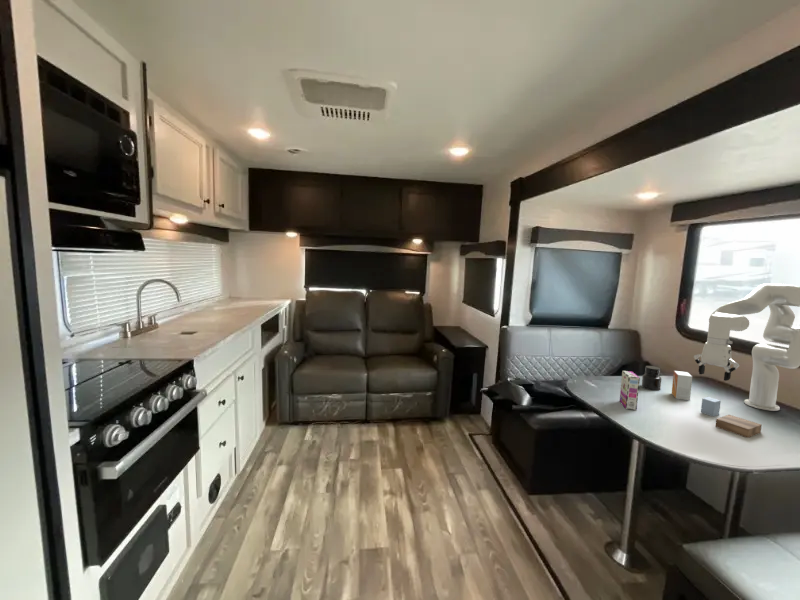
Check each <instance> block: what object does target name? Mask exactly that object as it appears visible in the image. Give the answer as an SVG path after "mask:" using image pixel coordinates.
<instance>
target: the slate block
mask: <svg viewBox="0 0 800 600" xmlns="http://www.w3.org/2000/svg"><path fill="white" fill-rule="evenodd" d="M721 402H722V401H721V399H720V400H719V399H717V398H713V397H710V396H705V397H703V398H702V400H701V407H700V413H701V414H704V415H707V416H711V417H716V416H719V415H720V410H721Z"/></svg>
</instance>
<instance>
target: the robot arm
mask: <svg viewBox="0 0 800 600" xmlns="http://www.w3.org/2000/svg"><path fill="white" fill-rule="evenodd" d="M767 307H768V308H769V311H770V312H769V313H770V314H769V317H768V319H767V322H766V326H765V327H764V330H763V335H762V337H763V339H764V340H765V341H767V342H770V344H769V343H757V344H755V345H754V346H753V347H752V350H751V356H752V372H751V380H750V386H749V387H750V388H749V394H748V395H749V398H747V399H744V401H743V402H744V403H745V405H747V406H749V407H752V408H756V409H758V410H759V409H760V410H764V411H769V412H770V411H771V412H777V411H780V410H781V409H780V406H779V405H778V404H777V396H778V388H779V381H780V372H779V369H778V368H777V366H778V367H781V368H786V369H790V370H791V369H798V368H799V367H800V326H797V325H794V322H795V318H796V315H795V313H794V311H793V309H791V307H796V308H797V307H800V286H797V285H794V284H786V283H785V284H784V283H783V284H782V283H762V284H759V285H758V286H757V287H755V289H753V290H752V291H751V292H750V293H749V294H747V295H746V296H745V297H744V298H741V299H739V300H735V301H732V302H728V303H726V304H723V305H720V306H719V307H718V308H717V309H716V310H714V311H713V312H712V313H711V314H710V316H709V319H708V328H707V330H708V331H707V338H706V342H705V343H704V345H703V348H702V352H701V353H698V354H695V355H693V359H694V360H695V362H696V364H697V366H698V374H699V375H705V370H706V369H705V368H706V364H707V365H711V366H716V367H719V368H723V369H724V374H723V381H725V382H727V381H729V380H730V379H731V376H732V375H731V374H732V372H734V371H736V370H737V369H738V368H739V367H740V364H739V363H738V362H736V360H733V359H732V357H733V355H732V347H731V345H733V340H730V333H731V331H732V332H733V331H734V332H742V331H745V330H747V329H748V328H749V326H750V320H749V318H747V317H746V316H745V315H753V314H754V315H755V314H758V313H760V312H762V311H764V310H765V309H766V308H767ZM771 343H775V344H771ZM776 344H780V345H785V346H786V347H785V346H780V345H776ZM787 346H788V347H787ZM700 359H701V360H700ZM731 365H732V367H731Z"/></svg>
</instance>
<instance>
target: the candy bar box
mask: <svg viewBox="0 0 800 600" xmlns="http://www.w3.org/2000/svg"><path fill="white" fill-rule="evenodd" d="M640 379H641V378H640V377H639V376H638V375H637V374H636V372H635V373H634V371H630V370H629V371H628V370H622V372H621V381H620V392H619V402H620V403H622V404H621V405H622V406H623V407H624V409H625V410H631V411H637V410H638V398H639V390H640V389H639V388H640Z"/></svg>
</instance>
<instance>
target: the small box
mask: <svg viewBox="0 0 800 600" xmlns="http://www.w3.org/2000/svg"><path fill="white" fill-rule="evenodd" d="M692 383H693V375H691V374H690V373H689V372H688V371H682V370H681V371H679V370H673V376H672V383H671V384H672V385H671V395H672V396H673V397H674V398H675V399H677V400H685V401H691V394H692V393H691V391H692Z"/></svg>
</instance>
